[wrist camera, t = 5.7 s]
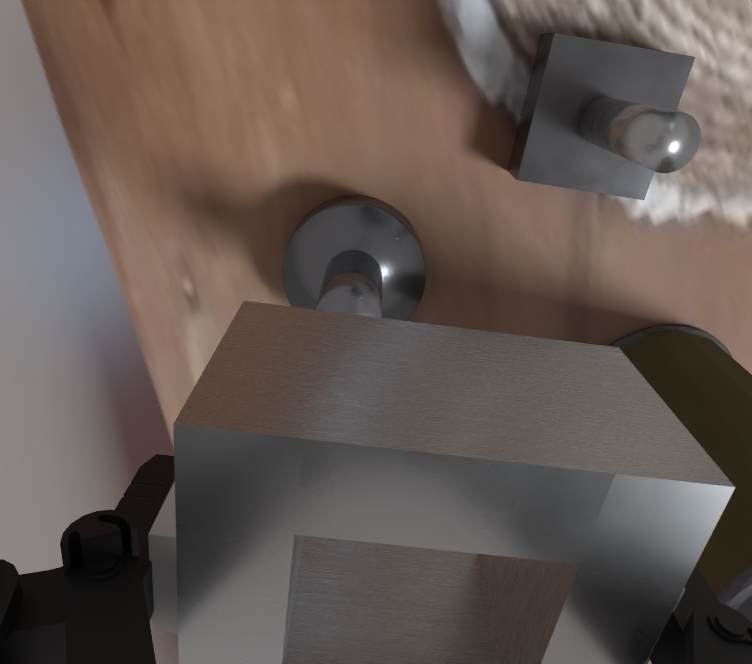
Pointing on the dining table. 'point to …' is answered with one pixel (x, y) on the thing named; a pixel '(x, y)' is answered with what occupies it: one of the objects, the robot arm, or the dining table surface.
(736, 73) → the dining table surface
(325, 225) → the cylinder
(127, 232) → the dining table surface
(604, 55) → the stand
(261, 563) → the grey square ring block
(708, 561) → the canister
